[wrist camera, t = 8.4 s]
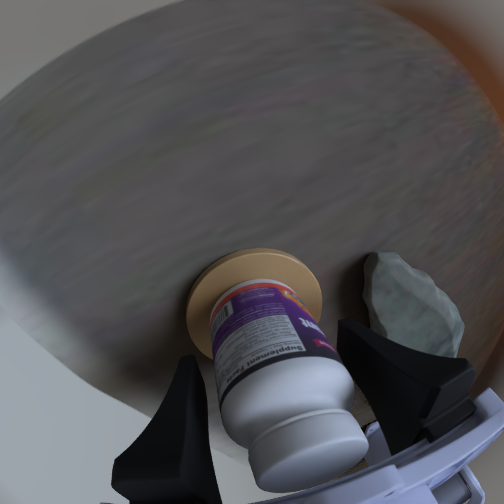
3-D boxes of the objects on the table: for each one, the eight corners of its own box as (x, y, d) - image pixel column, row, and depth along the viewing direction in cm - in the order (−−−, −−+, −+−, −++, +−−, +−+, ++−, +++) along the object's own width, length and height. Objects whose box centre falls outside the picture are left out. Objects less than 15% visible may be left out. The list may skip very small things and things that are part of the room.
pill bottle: (310, 332, 17) (385, 459, 8) (231, 365, 17) (264, 507, 8) (286, 259, 15) (390, 399, 6) (192, 298, 15) (203, 471, 6)
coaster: (318, 343, 19) (322, 350, 18) (204, 370, 18) (204, 379, 17) (315, 234, 16) (320, 239, 15) (170, 263, 15) (169, 270, 14)
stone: (331, 305, 15) (456, 207, 14) (312, 279, 18) (426, 197, 17) (396, 418, 21) (474, 355, 20) (382, 397, 24) (457, 339, 23)
